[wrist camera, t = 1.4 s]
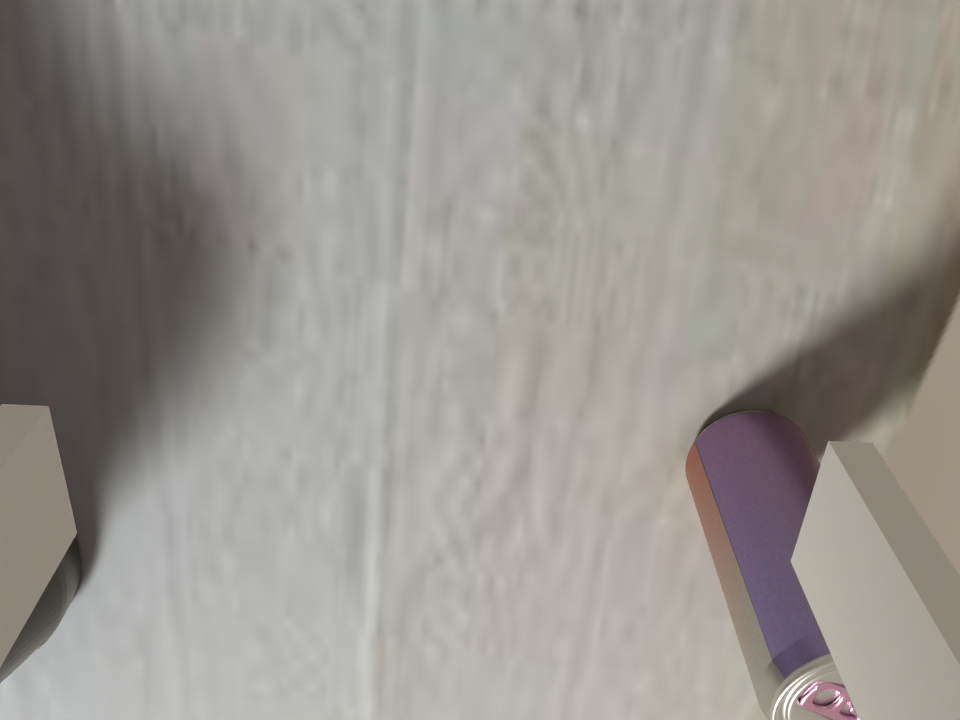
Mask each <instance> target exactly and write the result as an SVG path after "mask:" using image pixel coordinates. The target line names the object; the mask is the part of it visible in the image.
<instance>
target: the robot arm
mask: <svg viewBox="0 0 960 720" xmlns="http://www.w3.org/2000/svg"><path fill="white" fill-rule="evenodd" d="M76 534H77V530H76V525H75V521H74V516H73V512H72V507H71V503H70V498H69V494H68V490H67V485H66V481H65V476H64V472H63V467H62V463H61V458H60V454H59V449H58V445H57V441H56V436H55V432H54V427H53V423H52V418H51V414H50V409H49V406H37V405H14V404H1V406H0V683H1V682H2V681H3V680H4V679H5V678H7V677H8V676H9V675H10V674H11V673H12V672H13V671H14V670H15V669H16V668H17V667H19V666H20V665H21V664H22V663H23V662H24V661H25V660H26V659H27V658H28V657H29V656H30V655H32V654H33V653H34V652H35V651H37V650H38V649H39V648H40V647H41V646H42V645H43V644H44V643H45V642H46V641H47V640H48V639H49V638H50V636H51V635H52V634H53V632H54V631H55V630H56V628H57V627H58V625H59V623H60V621H61V620H62V618H63V616H64V614H65V612H66V610H67V608H68V607H69V605H70V603H71V601H72V599H73V597H74V595H75V593H76V590H77V587H78V584H79V579H80V571H81V562H80V554H79V549H78V545H77V542H76V539H75V536H76ZM791 564H792V566H793V568H794V570H795V573H796V575H797V577H798V580H799V582H800V584H801V586H802V589H803V591H804V593H805V596H806V598H807V600H808V603H809V605H810V607H811V609H812V612H813V614H814V616H815V619H816V621H817V623H818V625H819V628H820V630H821V632H822V635H823V637H824V639H825V641H826V644H827V646H828V648H829V651H830V653H831V655H832V658H833V660H834V662H835V664H836V667H837V669H838V671H839V674H840V676H841V678H842V680H843V683H844V685H845V687H846V690H847V692H848V694H849V697H850V699H851V701H852V703H853V706H854V708H855V710H856V713H857V715H858V717H859V719H860V720H960V575H959V574H958V572H957V571H956V570H955V568H954V566H953V565H952V563H951V562H950V560H949V559H948V558H947V556H946V554H945V553H944V551H943V550H942V548H941V547H940V545H939V543H938V542H937V541H936V539H935V537H934V536H933V534H932V533H931V531H930V530H929V528H928V527H927V525H926V524H925V522H924V521H923V519H922V518H921V516H920V515H919V513H918V511H917V510H916V508H915V507H914V505H913V504H912V502H911V501H910V500H909V498H908V496H907V495H906V493H905V492H904V490H903V489H902V487H901V486H900V484H899V483H898V481H897V480H896V478H895V476H894V475H893V474H892V472H891V471H890V469H889V467H888V466H887V464H886V463H885V461H884V460H883V458H882V457H881V455H880V454H879V452H878V451H877V449H876V448H875V446H874V444H873V443H864V442H842V441H828V444H827V447H826V450H825V453H824V456H823V460H822V463H821V466H820V469H819V472H818V475H817V479H816V482H815V485H814V488H813V491H812V495H811V498H810V501H809V504H808V507H807V511H806V514H805V517H804V520H803V523H802V527H801V530H800V533H799V536H798V539H797V543H796V546H795V549H794V552H793V555H792V558H791Z"/></svg>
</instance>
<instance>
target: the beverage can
mask: <svg viewBox="0 0 960 720" xmlns="http://www.w3.org/2000/svg"><path fill="white" fill-rule="evenodd" d="M820 466H821V464H820V462H819V461H818V459H817V457H816V455H815V453H814V451H813V449H812V448H811V446H810V444H809V442H808V440H807V438H806V437H805V435H804V433H803V432H802V431H801V429H800V428H799V427H798V426H797V425H796V424H794V423H793V422H792V421H790V420H788V419H787V418H784V417H782V416H780V415H777V414H773V413H769V412H765V411H753V410H751V411H741V412H736V413H732V414H729V415H726V416H724V417H722V418H720V419H718V420H716V421H715V422H713V423H712V424H710V425H709V426H708V427H707V428H705V429H704V430H703V431H702V432H701V434H700V435H699V436H698V437H697V439H696V440H695V442H694V443H693V445H692V447H691V449H690V451H689V453H688V456H687V460H686V477H687V480H688V483H689V487H690V490H691V493H692V496H693V499H694V502H695V505H696V508H697V512H698V515H699V518H700V521H701V524H702V527H703V530H704V533H705V537H706V540H707V543H708V546H709V549H710V552H711V555H712V559H713V562H714V565H715V568H716V571H717V574H718V577H719V580H720V584H721V587H722V590H723V593H724V596H725V599H726V602H727V605H728V609H729V612H730V615H731V618H732V621H733V624H734V627H735V630H736V634H737V637H738V640H739V643H740V646H741V649H742V652H743V655H744V659H745V662H746V665H747V668H748V671H749V674H750V677H751V680H752V684H753V687H754V690H755V693H756V696H757V699H758V702H759V705H760V708H761V710H762V711H763V713H764V714H765V716H766V717H767V718H768V719H769V720H860V719H859V717H858V715H857V713H856V710H855V708H854V706H853V703H852V701H851V699H850V697H849V694H848V692H847V690H846V687H845V685H844V683H843V680H842V678H841V676H840V674H839V671H838V669H837V667H836V664H835V662H834V660H833V658H832V655H831V653H830V651H829V648H828V646H827V644H826V641H825V639H824V637H823V635H822V632H821V630H820V628H819V625H818V623H817V621H816V619H815V616H814V614H813V612H812V609H811V607H810V605H809V603H808V600H807V598H806V596H805V593H804V591H803V589H802V586H801V584H800V582H799V580H798V577H797V575H796V573H795V570H794V568H793V566H792V564H791V558H792V555H793V552H794V549H795V546H796V543H797V539H798V536H799V533H800V530H801V527H802V523H803V520H804V517H805V514H806V511H807V507H808V504H809V501H810V498H811V495H812V491H813V488H814V485H815V482H816V479H817V475H818V472H819V469H820Z"/></svg>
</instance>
